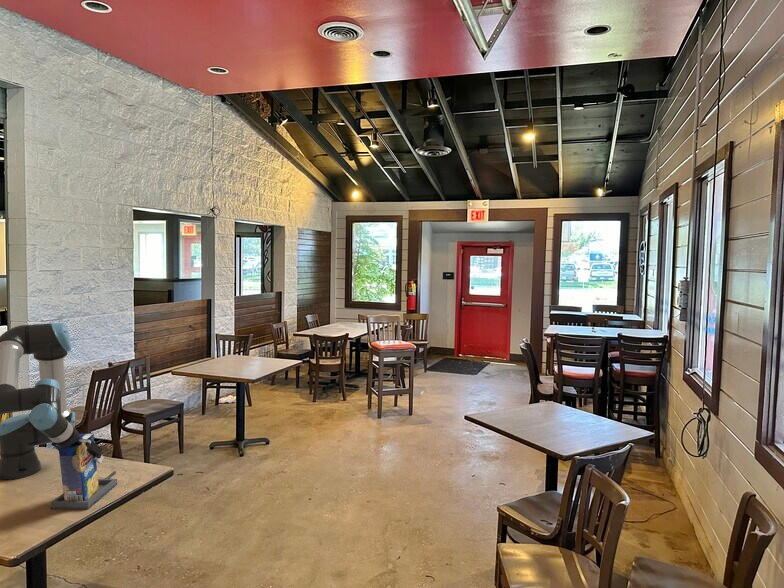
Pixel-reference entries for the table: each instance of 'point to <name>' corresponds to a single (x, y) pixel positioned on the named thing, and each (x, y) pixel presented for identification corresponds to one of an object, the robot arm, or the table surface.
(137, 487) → the table surface
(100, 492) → the grey tray with handle
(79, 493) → the beverage box
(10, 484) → the table surface
